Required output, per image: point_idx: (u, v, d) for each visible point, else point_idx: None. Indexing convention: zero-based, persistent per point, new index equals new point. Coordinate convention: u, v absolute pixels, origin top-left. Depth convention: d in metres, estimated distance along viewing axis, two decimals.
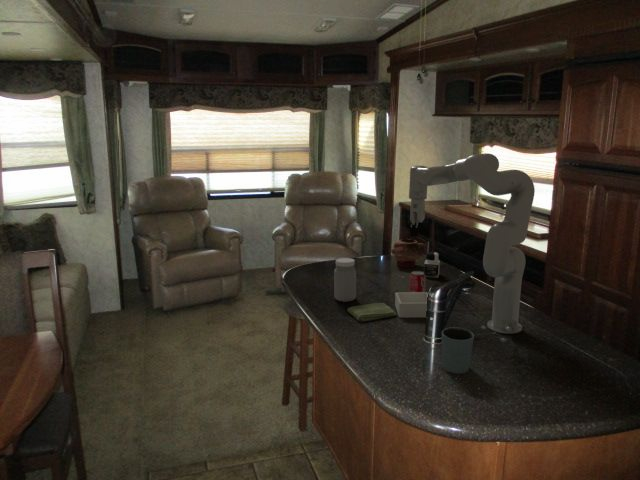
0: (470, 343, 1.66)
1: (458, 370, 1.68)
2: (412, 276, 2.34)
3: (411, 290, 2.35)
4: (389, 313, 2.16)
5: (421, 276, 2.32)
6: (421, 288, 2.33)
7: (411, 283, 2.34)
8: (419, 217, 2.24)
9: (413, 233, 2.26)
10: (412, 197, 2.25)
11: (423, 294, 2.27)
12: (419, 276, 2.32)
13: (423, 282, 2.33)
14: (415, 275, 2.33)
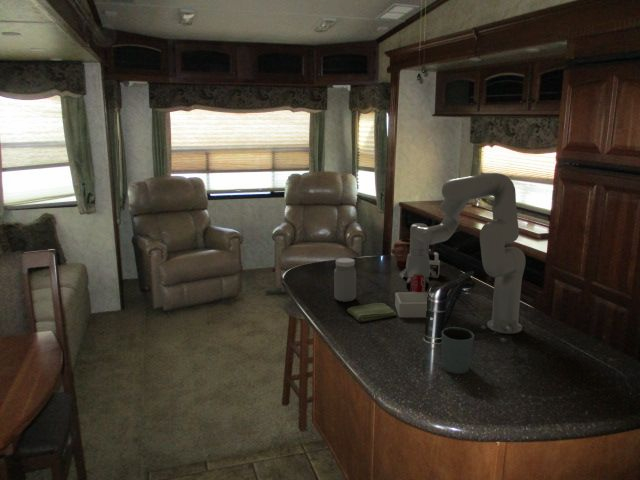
0: (470, 343, 1.66)
1: (458, 370, 1.68)
2: None
3: (411, 290, 2.35)
4: (389, 313, 2.15)
5: (421, 276, 2.32)
6: (421, 288, 2.33)
7: (410, 283, 2.34)
8: None
9: None
10: (426, 254, 2.31)
11: (423, 294, 2.27)
12: (419, 276, 2.32)
13: (422, 282, 2.33)
14: (415, 275, 2.33)
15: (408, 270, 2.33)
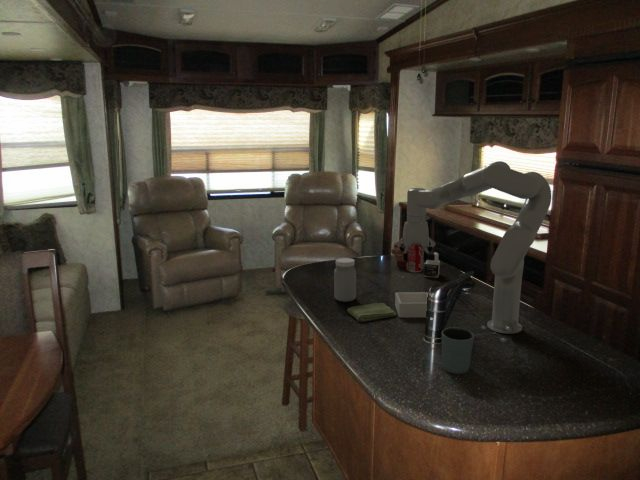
0: (470, 343, 1.66)
1: (458, 370, 1.68)
2: None
3: (408, 261, 2.15)
4: (389, 313, 2.15)
5: (419, 245, 2.13)
6: (420, 258, 2.14)
7: (408, 253, 2.15)
8: None
9: (427, 258, 2.17)
10: (425, 221, 2.12)
11: (423, 294, 2.27)
12: (417, 245, 2.13)
13: (421, 252, 2.13)
14: (413, 244, 2.13)
15: (405, 239, 2.13)
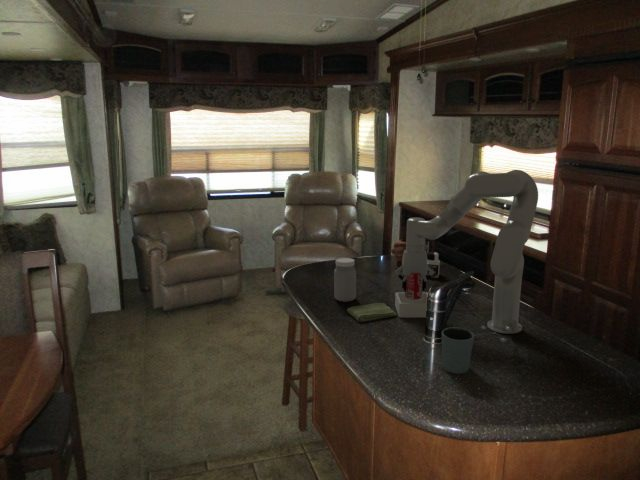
0: (470, 343, 1.66)
1: (458, 370, 1.68)
2: None
3: (407, 289, 2.18)
4: (389, 313, 2.15)
5: (418, 274, 2.16)
6: (418, 287, 2.16)
7: (407, 281, 2.18)
8: None
9: (425, 286, 2.20)
10: (424, 250, 2.14)
11: (423, 294, 2.27)
12: (416, 274, 2.15)
13: (420, 281, 2.16)
14: (411, 273, 2.16)
15: (404, 268, 2.16)
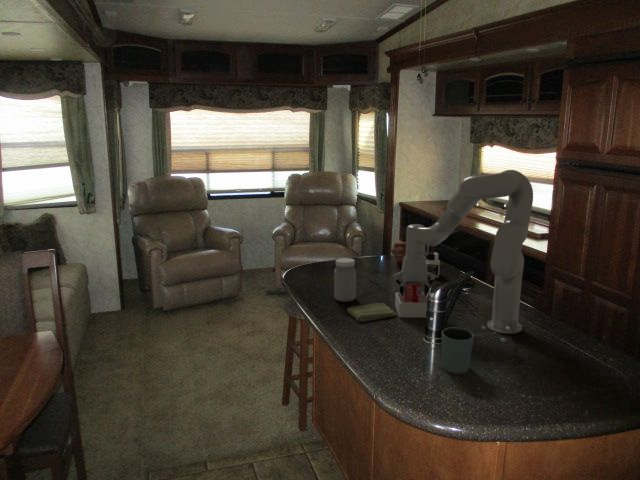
0: (470, 343, 1.66)
1: (458, 370, 1.68)
2: (407, 285, 2.18)
3: (406, 300, 2.19)
4: (388, 313, 2.15)
5: (417, 285, 2.17)
6: (417, 298, 2.17)
7: (405, 292, 2.19)
8: None
9: None
10: (424, 257, 2.15)
11: (423, 294, 2.27)
12: (415, 285, 2.16)
13: (418, 292, 2.17)
14: (410, 284, 2.17)
15: (404, 274, 2.16)
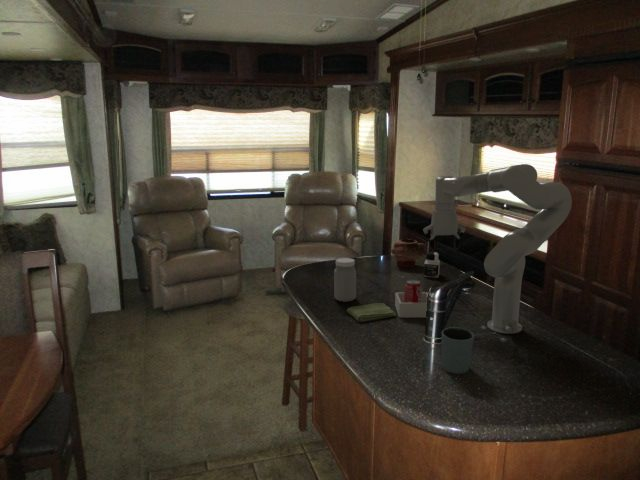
0: (470, 343, 1.66)
1: (458, 370, 1.68)
2: (407, 285, 2.18)
3: (406, 300, 2.19)
4: (388, 313, 2.15)
5: (417, 285, 2.17)
6: (417, 298, 2.17)
7: (405, 292, 2.19)
8: None
9: None
10: None
11: (423, 294, 2.27)
12: (414, 285, 2.16)
13: (418, 292, 2.17)
14: (410, 284, 2.17)
15: (434, 227, 2.15)
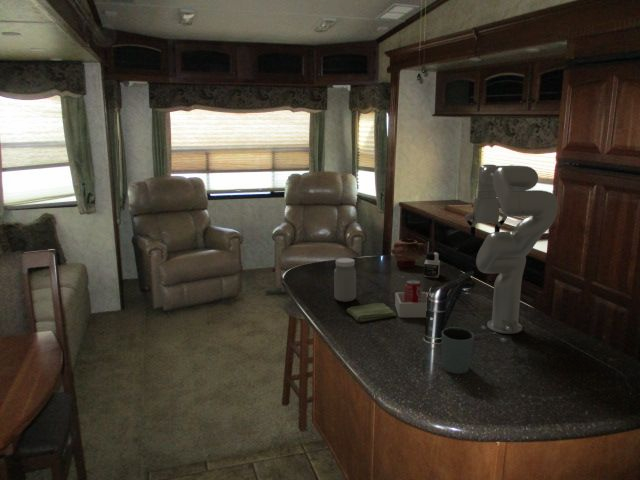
0: (470, 343, 1.66)
1: (458, 370, 1.68)
2: (407, 285, 2.18)
3: (406, 300, 2.19)
4: (388, 313, 2.15)
5: (417, 285, 2.17)
6: (417, 298, 2.17)
7: (405, 292, 2.19)
8: None
9: None
10: (496, 197, 2.17)
11: (423, 294, 2.27)
12: (414, 285, 2.16)
13: (418, 292, 2.17)
14: (410, 284, 2.17)
15: (476, 214, 2.18)
